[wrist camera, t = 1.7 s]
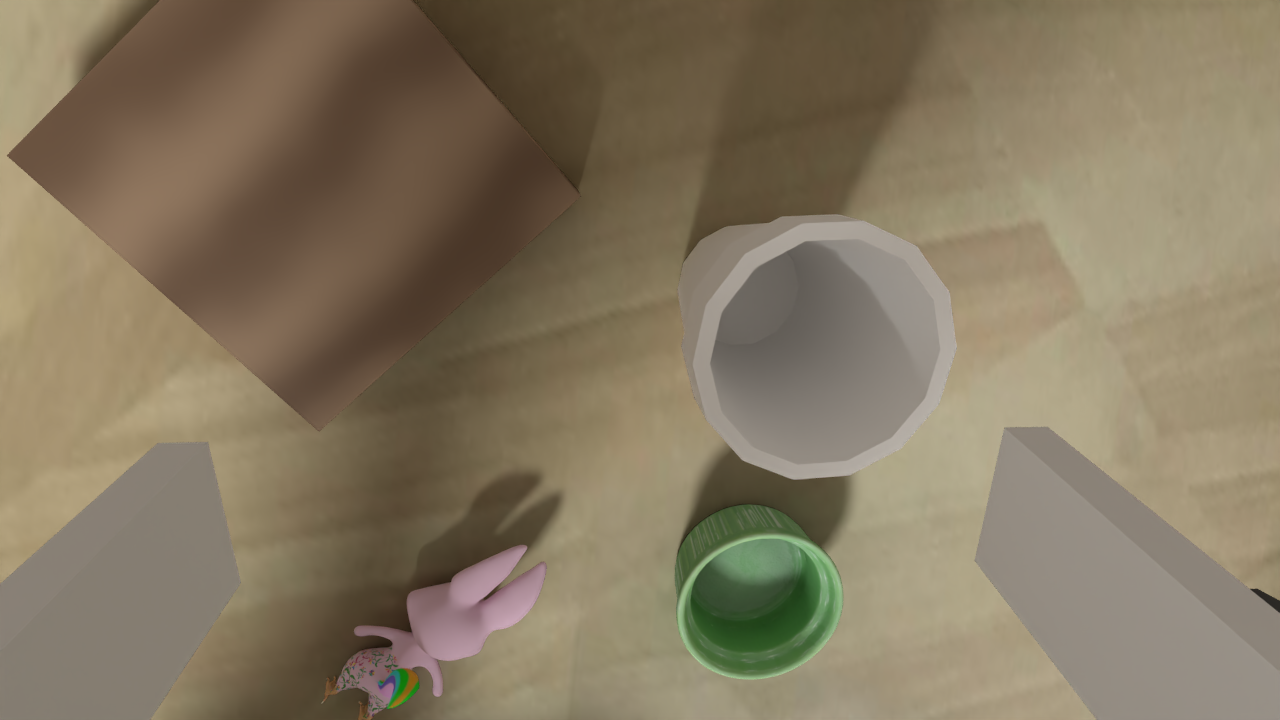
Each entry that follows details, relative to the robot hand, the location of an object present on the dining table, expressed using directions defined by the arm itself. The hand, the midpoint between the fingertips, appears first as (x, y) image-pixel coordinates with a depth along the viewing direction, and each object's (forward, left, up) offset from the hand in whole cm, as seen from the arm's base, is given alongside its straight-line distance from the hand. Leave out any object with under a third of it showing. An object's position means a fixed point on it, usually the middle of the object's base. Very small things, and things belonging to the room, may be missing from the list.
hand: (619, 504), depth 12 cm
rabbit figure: (-10, +19, -26) cm, 33 cm away
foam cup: (-6, -5, -26) cm, 27 cm away
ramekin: (-19, +5, -26) cm, 33 cm away
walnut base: (+11, +6, -26) cm, 28 cm away
